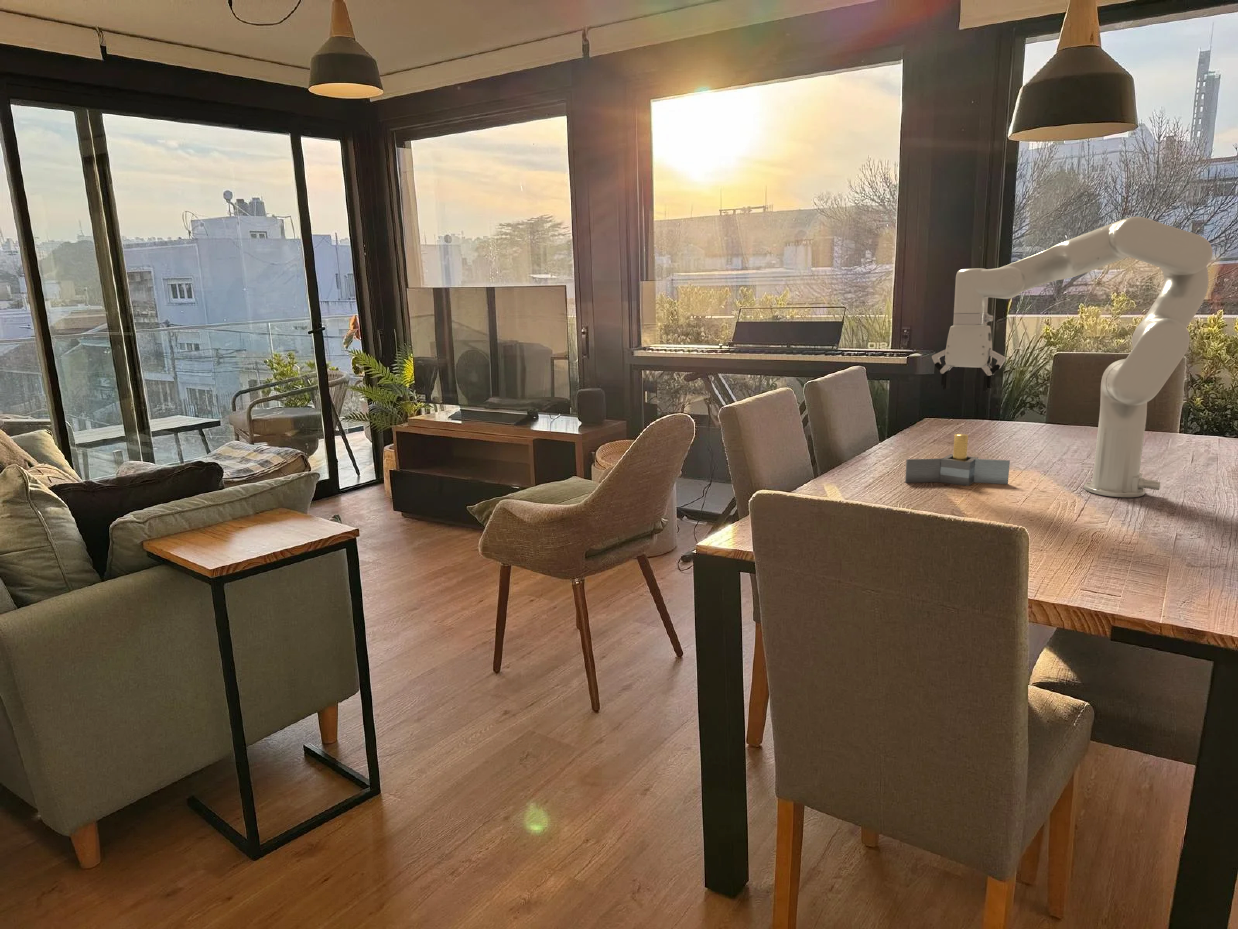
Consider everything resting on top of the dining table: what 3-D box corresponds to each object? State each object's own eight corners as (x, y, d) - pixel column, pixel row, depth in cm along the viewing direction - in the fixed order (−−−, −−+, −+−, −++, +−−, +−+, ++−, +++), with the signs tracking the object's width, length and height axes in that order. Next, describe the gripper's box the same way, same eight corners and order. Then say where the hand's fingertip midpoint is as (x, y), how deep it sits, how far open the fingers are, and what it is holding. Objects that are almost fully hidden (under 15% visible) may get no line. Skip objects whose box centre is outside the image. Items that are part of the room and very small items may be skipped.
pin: (966, 480, 214) (969, 434, 211) (962, 483, 211) (965, 436, 209) (953, 479, 216) (956, 433, 213) (949, 481, 213) (952, 435, 211)
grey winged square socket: (1008, 483, 210) (1010, 460, 209) (993, 494, 200) (995, 470, 199) (922, 472, 223) (923, 450, 222) (904, 482, 213) (905, 459, 212)
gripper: (1012, 319, 202) (1007, 390, 206) (939, 319, 213) (935, 386, 216) (1003, 321, 196) (998, 394, 200) (928, 321, 207) (925, 390, 211)
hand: (966, 390), depth 208 cm, fingers open, 9 cm apart
